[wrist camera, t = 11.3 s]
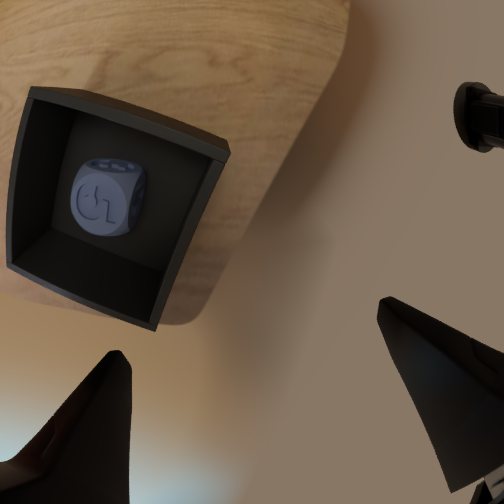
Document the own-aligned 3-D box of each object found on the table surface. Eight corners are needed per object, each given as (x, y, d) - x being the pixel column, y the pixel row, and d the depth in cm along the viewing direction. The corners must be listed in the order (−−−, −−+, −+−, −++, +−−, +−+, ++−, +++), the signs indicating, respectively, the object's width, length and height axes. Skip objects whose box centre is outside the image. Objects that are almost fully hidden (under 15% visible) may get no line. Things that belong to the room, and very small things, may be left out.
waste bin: (82, 89, 14) (30, 86, 8) (227, 140, 18) (231, 152, 12) (48, 227, 19) (6, 267, 13) (168, 276, 22) (155, 332, 16)
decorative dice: (140, 218, 19) (124, 242, 15) (92, 207, 18) (68, 229, 14) (150, 164, 17) (133, 177, 14) (98, 155, 16) (72, 166, 13)
